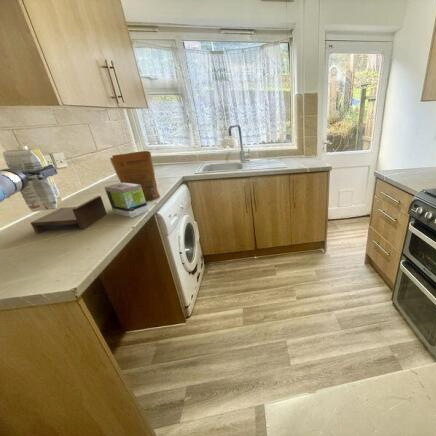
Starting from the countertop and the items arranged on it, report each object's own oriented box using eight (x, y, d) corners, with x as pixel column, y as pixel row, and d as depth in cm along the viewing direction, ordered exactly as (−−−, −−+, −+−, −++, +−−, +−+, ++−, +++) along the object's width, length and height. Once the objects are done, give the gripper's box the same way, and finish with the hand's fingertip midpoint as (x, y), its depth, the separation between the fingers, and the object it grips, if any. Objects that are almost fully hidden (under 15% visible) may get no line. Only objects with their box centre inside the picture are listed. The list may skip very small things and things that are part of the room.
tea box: (149, 211, 127) (141, 183, 121) (130, 218, 119) (120, 189, 113) (132, 207, 134) (123, 181, 128) (113, 214, 126) (102, 186, 120)
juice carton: (65, 203, 103) (40, 144, 93) (58, 209, 96) (31, 146, 87) (37, 206, 99) (8, 146, 90) (27, 213, 93) (-5, 148, 83)
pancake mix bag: (163, 199, 144) (149, 151, 133) (126, 205, 137) (108, 155, 125) (163, 196, 150) (150, 149, 138) (127, 202, 143) (110, 153, 131)
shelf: (35, 233, 107) (24, 212, 103) (65, 217, 123) (57, 198, 119) (84, 229, 109) (75, 209, 105) (107, 214, 125) (100, 195, 121)
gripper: (-37, 199, 74) (2, 182, 93) (56, 188, 83) (74, 175, 102) (-52, 175, 71) (-9, 162, 90) (46, 166, 80) (67, 156, 99)
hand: (35, 169), depth 96 cm, fingers closed on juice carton, 9 cm apart
